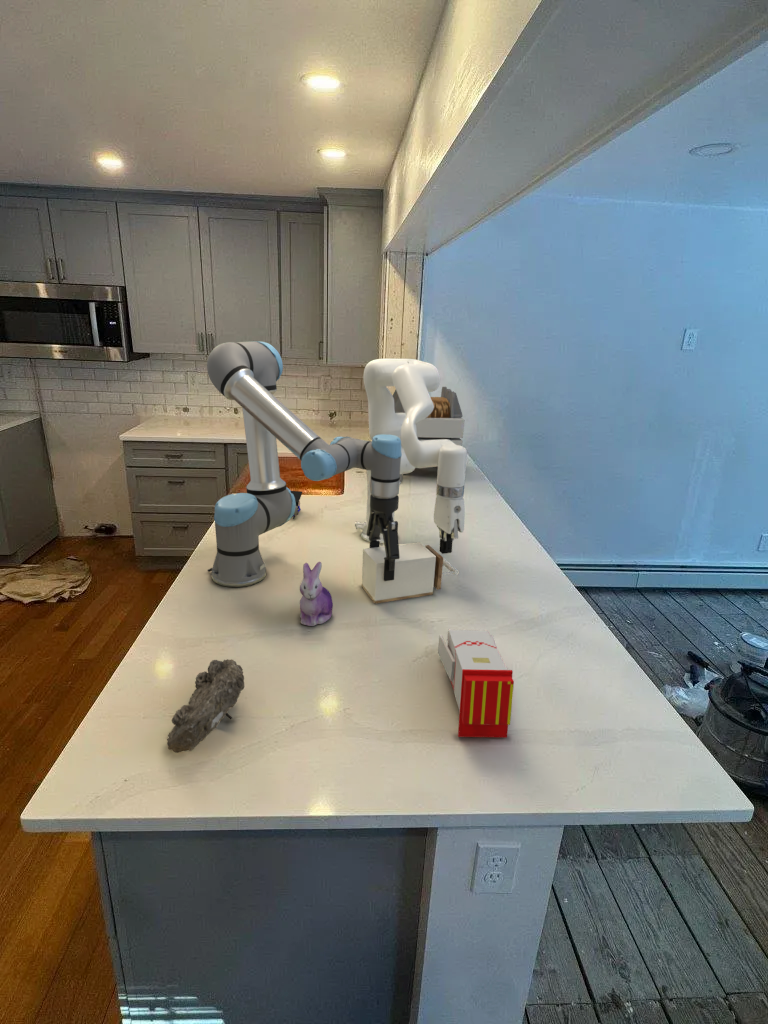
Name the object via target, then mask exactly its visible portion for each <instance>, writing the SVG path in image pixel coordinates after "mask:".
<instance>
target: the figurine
mask: <svg viewBox="0 0 768 1024" xmlns="http://www.w3.org/2000/svg"><path fill="white" fill-rule="evenodd" d="M322 564H323V563H322V561H318V562H317V563H316V564H315V565H314V566H313V568H312V569H311V566H310V565H309V563H307V562H305V563H303V566H302V572H303V577H302V580H301V582H300V585H299V592H300V594H301V598H300V600H299V609H300V613H299V614H300V615H299V618H300V624H302V625H304V626H309V627H314V626H317V625H322V624H324V623H326V622H328V621H329V620H330V619H331V617H332V615H333V609H334V608H333V607H334V603H333V597H332V594H331V592H330V591H329V590H328V589H327V588H326V587H325V586H323V584H322V581H321V579H320V574H321V571H322V566H323V565H322Z"/></svg>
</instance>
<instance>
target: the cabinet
mask: <svg viewBox="0 0 768 1024" xmlns="http://www.w3.org/2000/svg"><path fill="white" fill-rule="evenodd" d="M385 557H386V552H385V546H380V547H374V548H370V547H367V548H363V549H362V569H361V570H362V571H361V588H362V589H363V590H364V592H365V593H366V594H367V595H368V597H369V598H370V600H371V601H372V602H373V603H374V604H383V603H388V602H389V603H390V602H394V601H401V600H407V599H414V598H420V597H426V596H433V595H434V574H435V562H436V556H435V555H434V554H433V553H431V552H430V551H429V550H428V549H427V548H426V547H425V545H423V543H421V542H420V541H418V542H408V543H401V544H399V559H395V571H394V580H390V581H384V561H385V560H384V558H385Z"/></svg>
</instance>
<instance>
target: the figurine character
mask: <svg viewBox="0 0 768 1024" xmlns="http://www.w3.org/2000/svg"><path fill="white" fill-rule="evenodd" d="M291 493H292V494H293V495H294V497H295V502H296V508H295V512H294V515H293V516H292V520H295V518H296V516H298V515H299V512H301V511H302V509H301V501H300V500H301V497H302V495H303V491H302V490H301V491H299V490H291Z"/></svg>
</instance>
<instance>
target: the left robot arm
mask: <svg viewBox="0 0 768 1024" xmlns="http://www.w3.org/2000/svg"><path fill="white" fill-rule="evenodd" d="M283 370H284V364H283V360H282V356H281V355H280V353H279V351H278V349H276V348H275V347H274V346H273V345H271V344H270V343H268V342H266V341H259V340H258V341H257V340H251V341H236V342H235V341H227V342H223V343H220V344H218V345H217V346H215V347H214V348H213V349H212V350H211V351H210V353H209V355H208V358H207V360H206V371H207V375H208V378H209V380H210V381H211V383H212V385H213V387H215V389H216V390H217V391H218V392H219V393H220V394H221V395H222V396H223V397H224V398H225V399H227V400H228V401H234V402H236V403H237V404H238V405H239V406H240V407H241V409H242V417H243V418H242V419H243V425H244V434H245V442H246V443H245V444H246V451H247V460H248V468H249V476H250V477H249V479H250V481H249V482H248V484H247V485H246V487H245V488H246V489H245V490H246V492H237V493H231V494H230V493H229V494H227V495H225V496H223V497H221V498H219V499H218V501H216V503H215V505H214V514H213V515H214V516H213V519H214V528H215V529H214V531H215V543H216V554H215V558H214V561H213V565H212V567H211V568H208V569H207V572H208V573H210V572H211V580H212V581H213V582H214V583H215V584H217V585H220V586H223V587H227V588H243V587H249V586H252V585H253V586H254V585H255V584H258V583H260V582H261V581H263V580H264V579H265V578H266V577H267V567H266V562H265V561H264V558H263V556H262V554H261V551H260V544H259V543H260V540H259V538H260V537H259V536H261V535H263V534H265V533H267V532H269V531H272V530H274V529H276V528H279V527H282V526H283V525H285V524H286V523H287V522H289V521H290V520H291V519H293V515H294V512H295V508H296V502H295V497H294V495H293V494H292V493H291V491H292V490H291V489H290V488H288V487H287V482H286V481H285V480H284V479H282V478H281V471H280V463H279V461H280V460H279V452H278V443H277V440H278V441H279V442H280V443H281V444H282V445H283V446H284V447H285V448H287V449H288V450H289V452H291V453H292V454H293V455H294V456H295V457H296V458H297V459H299V460H300V468H301V470H302V472H303V475H304V476H305V477H306V478H307V479H308V480H310V481H314V482H319V481H324V480H329V479H331V478H333V477H334V476H336V475H338V474H342V473H344V472H347V471H349V470H353V469H360V470H366V471H367V470H371V481H370V493H371V495H370V517H369V523H368V529H367V536H369V541H370V542H369V548H374V547H381V546H380V545H381V543H380V541H377V540H381V539H380V534H383V540H384V543H383V545H384V546H385V552H386V557H385V558H384V560H385V561H384V581H390V580H394V571H395V559H399V545H400V544H399V543H400V542H399V531H398V530H399V521H397V520H394V521H393V516H392V513H393V512H394V511H395V512H396V511H398V510H399V500H400V497H399V494H400V486H401V484H402V482H400V464H401V456H402V453H401V440H400V438H399V437H397V436H394V435H385V434H380V435H375V436H374V437H373V438H372V440H365V439H361V438H356V437H355V438H354V437H351V436H340V435H339V436H336V437H334V438H333V440H332V441H331V442H330V443H328V442H326V441H325V440H324V439H323V438H322V437H321V436H319V435H318V434H317V433H316V432H315V431H314V430H313V429H311V427H309V426H308V425H307V424H306V423H305V422H303V420H301V419H300V418H299V417H298V416H297V415H296V414H295V413H294V412H293V411H291V409H289V408H288V407H287V406H286V405H285V404H284V403H283V402H281V401H280V400H279V399H278V398H277V397H276V396H275V395H274V394H275V393H276V392H277V391H278V388H277V381H279V379H280V378H281V376H282V374H283V372H284V371H283ZM395 512H394V513H395ZM370 531H371V532H370Z"/></svg>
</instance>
